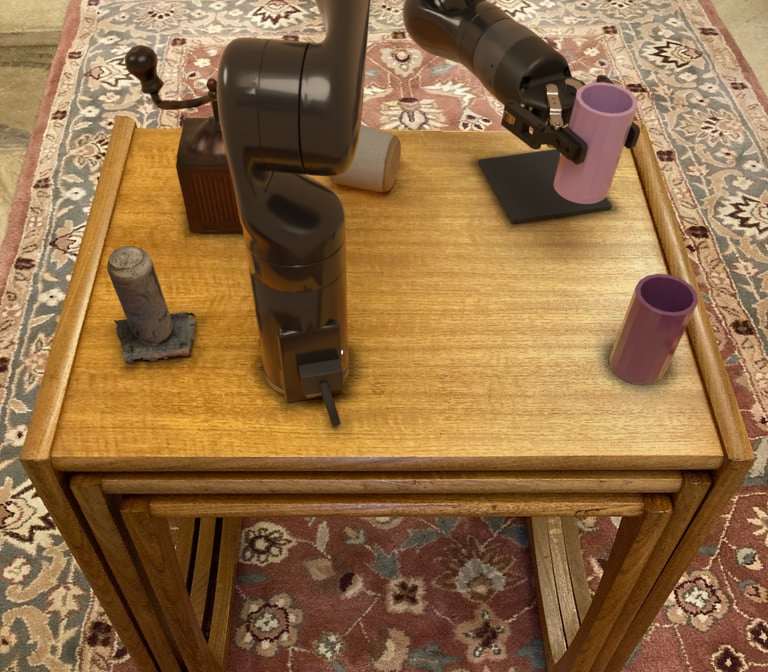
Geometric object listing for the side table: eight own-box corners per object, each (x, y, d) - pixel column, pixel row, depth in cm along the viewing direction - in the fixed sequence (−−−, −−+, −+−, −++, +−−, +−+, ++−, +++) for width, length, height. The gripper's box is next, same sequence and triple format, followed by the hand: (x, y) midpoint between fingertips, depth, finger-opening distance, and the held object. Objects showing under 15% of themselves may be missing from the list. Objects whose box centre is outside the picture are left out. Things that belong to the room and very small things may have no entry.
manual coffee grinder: (275, 182, 102) (260, 39, 87) (271, 234, 96) (255, 89, 81) (158, 182, 102) (123, 38, 87) (147, 234, 96) (107, 89, 81)
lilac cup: (619, 193, 85) (650, 105, 77) (578, 210, 83) (605, 122, 75) (582, 164, 88) (608, 76, 80) (541, 180, 86) (564, 91, 77)
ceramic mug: (387, 205, 100) (389, 149, 94) (328, 194, 101) (326, 137, 95) (407, 162, 106) (410, 106, 100) (351, 152, 107) (350, 96, 101)
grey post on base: (125, 373, 82) (93, 284, 72) (114, 326, 86) (82, 236, 76) (208, 355, 84) (187, 265, 74) (194, 309, 88) (172, 219, 78)
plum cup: (674, 379, 84) (709, 309, 76) (623, 389, 83) (652, 319, 75) (650, 341, 87) (680, 269, 79) (600, 350, 86) (625, 278, 78)
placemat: (611, 209, 101) (612, 205, 100) (512, 224, 99) (512, 220, 98) (570, 150, 108) (571, 146, 108) (477, 163, 106) (478, 159, 105)
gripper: (471, 48, 82) (563, 129, 74) (578, 22, 86) (675, 97, 78) (462, 116, 88) (546, 197, 80) (561, 89, 92) (650, 164, 85)
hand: (609, 147), depth 80 cm, fingers closed on lilac cup, 6 cm apart
